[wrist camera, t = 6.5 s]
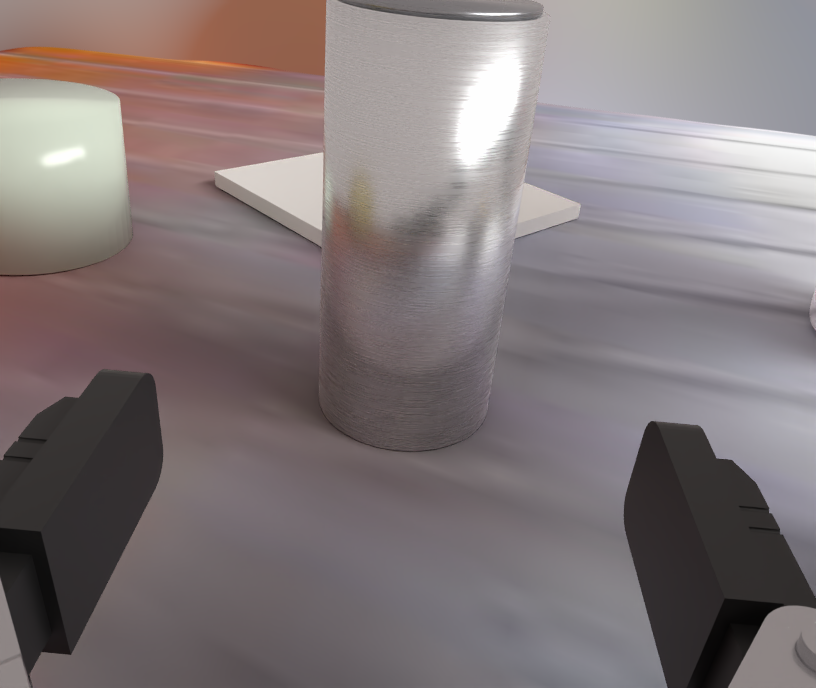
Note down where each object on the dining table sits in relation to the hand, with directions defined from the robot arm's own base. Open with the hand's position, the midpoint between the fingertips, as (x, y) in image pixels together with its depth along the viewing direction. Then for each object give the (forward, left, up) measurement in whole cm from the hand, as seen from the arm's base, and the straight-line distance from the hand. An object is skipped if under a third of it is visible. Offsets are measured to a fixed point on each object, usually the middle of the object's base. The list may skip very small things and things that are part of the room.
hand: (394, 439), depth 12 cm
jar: (-3, -27, -7) cm, 28 cm away
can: (-8, -8, -7) cm, 13 cm away
